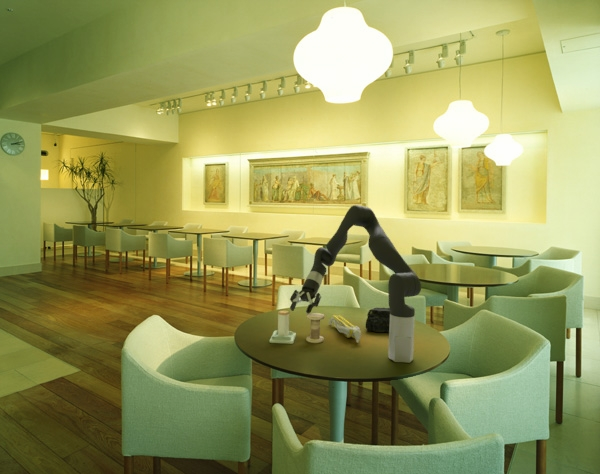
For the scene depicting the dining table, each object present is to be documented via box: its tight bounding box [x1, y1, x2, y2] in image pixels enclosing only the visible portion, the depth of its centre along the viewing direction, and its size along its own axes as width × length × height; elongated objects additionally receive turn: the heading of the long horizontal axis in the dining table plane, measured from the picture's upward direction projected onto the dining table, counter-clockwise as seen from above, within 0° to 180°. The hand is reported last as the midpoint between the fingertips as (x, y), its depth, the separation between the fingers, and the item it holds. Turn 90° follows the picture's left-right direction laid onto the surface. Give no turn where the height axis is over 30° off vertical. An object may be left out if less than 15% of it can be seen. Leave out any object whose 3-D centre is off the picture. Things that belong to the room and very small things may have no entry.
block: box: [277, 310, 290, 336], centre depth 182 cm, size 4×4×11 cm
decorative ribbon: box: [328, 314, 362, 344], centre depth 192 cm, size 8×6×30 cm
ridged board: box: [269, 329, 297, 345], centre depth 182 cm, size 12×10×2 cm
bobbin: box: [305, 312, 325, 344], centre depth 181 cm, size 8×8×11 cm
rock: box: [365, 307, 390, 333], centre depth 199 cm, size 18×10×15 cm
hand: (299, 311), depth 191 cm, fingers open, 8 cm apart
